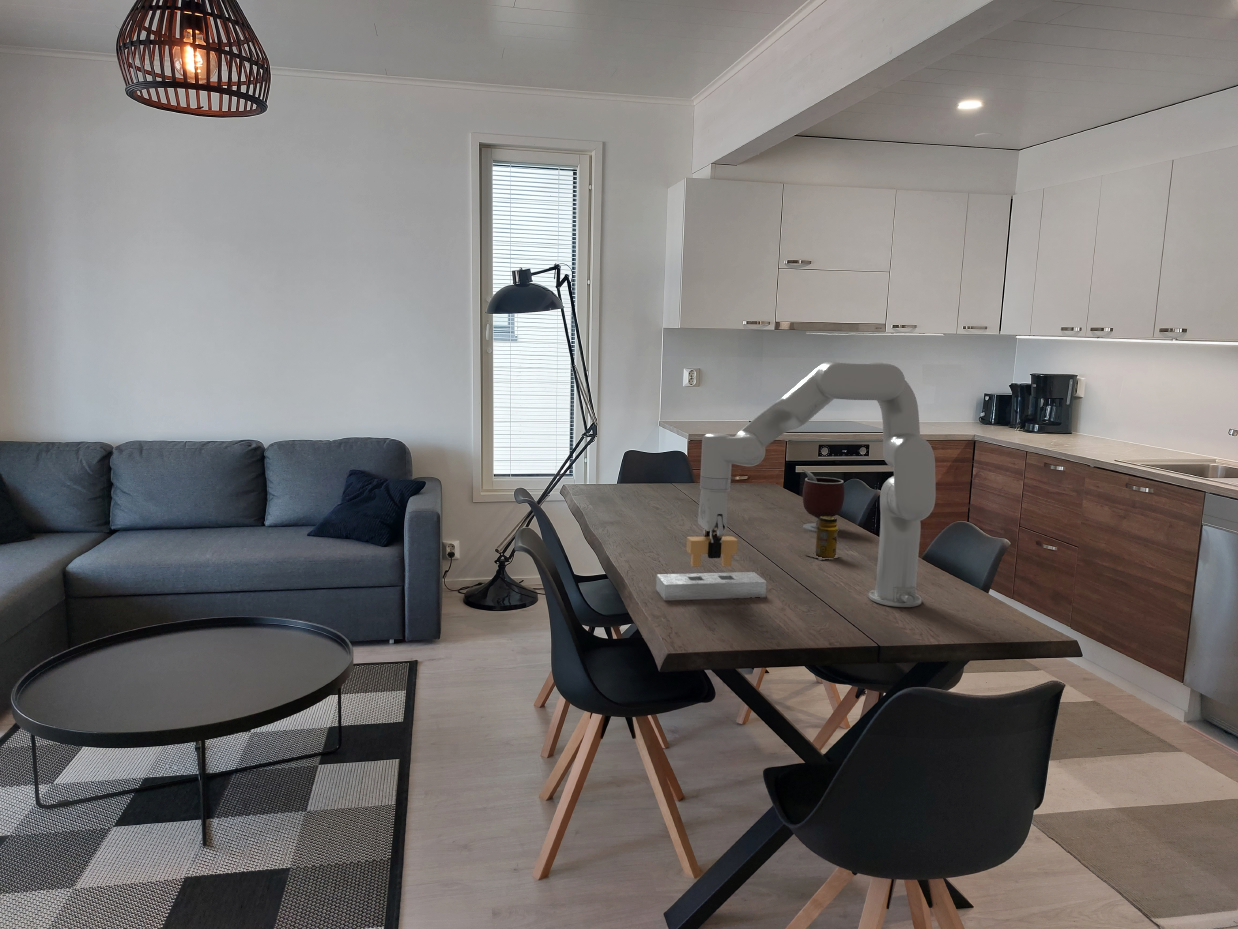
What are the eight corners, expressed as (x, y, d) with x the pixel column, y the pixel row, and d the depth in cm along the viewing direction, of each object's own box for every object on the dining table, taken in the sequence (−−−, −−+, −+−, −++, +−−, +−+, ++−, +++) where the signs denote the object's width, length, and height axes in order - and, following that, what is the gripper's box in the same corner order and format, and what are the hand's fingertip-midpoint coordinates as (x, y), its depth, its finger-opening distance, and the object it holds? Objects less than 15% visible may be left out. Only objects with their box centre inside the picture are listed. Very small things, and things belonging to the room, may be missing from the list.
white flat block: (765, 597, 213) (766, 581, 212) (664, 600, 208) (665, 584, 207) (753, 586, 221) (754, 572, 221) (656, 589, 217) (656, 574, 216)
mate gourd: (849, 529, 294) (853, 472, 291) (829, 535, 284) (833, 476, 281) (809, 522, 304) (812, 466, 301) (788, 527, 294) (792, 470, 291)
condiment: (842, 558, 254) (844, 518, 253) (822, 561, 250) (824, 521, 248) (823, 552, 260) (826, 514, 259) (804, 555, 256) (806, 516, 254)
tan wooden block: (736, 567, 213) (737, 540, 212) (689, 568, 211) (691, 540, 210) (731, 563, 217) (732, 536, 216) (685, 563, 214) (687, 536, 213)
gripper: (691, 477, 218) (688, 547, 221) (710, 489, 202) (706, 564, 204) (719, 478, 219) (716, 547, 222) (740, 489, 203) (736, 564, 206)
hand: (711, 554), depth 213 cm, fingers closed on tan wooden block, 4 cm apart
